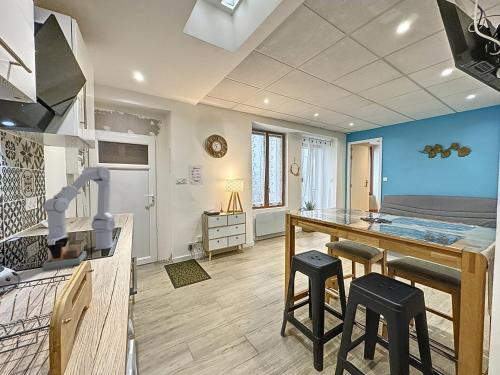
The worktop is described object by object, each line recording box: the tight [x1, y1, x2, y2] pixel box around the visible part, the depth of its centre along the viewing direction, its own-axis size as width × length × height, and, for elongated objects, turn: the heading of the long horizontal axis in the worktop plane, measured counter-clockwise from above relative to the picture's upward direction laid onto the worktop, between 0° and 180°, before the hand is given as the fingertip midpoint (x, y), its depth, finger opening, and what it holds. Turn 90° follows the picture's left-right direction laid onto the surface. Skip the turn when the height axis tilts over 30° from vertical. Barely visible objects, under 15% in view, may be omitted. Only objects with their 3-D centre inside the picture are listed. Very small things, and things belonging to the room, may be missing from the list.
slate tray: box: [42, 250, 87, 272], centre depth 93 cm, size 11×12×3 cm
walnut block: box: [66, 247, 81, 260], centre depth 94 cm, size 4×4×5 cm
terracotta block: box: [50, 246, 67, 262], centre depth 92 cm, size 4×4×5 cm
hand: (58, 256), depth 92 cm, fingers closed on terracotta block, 4 cm apart
